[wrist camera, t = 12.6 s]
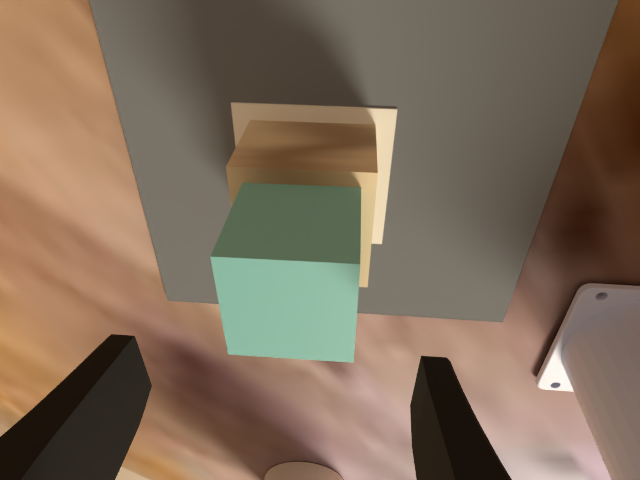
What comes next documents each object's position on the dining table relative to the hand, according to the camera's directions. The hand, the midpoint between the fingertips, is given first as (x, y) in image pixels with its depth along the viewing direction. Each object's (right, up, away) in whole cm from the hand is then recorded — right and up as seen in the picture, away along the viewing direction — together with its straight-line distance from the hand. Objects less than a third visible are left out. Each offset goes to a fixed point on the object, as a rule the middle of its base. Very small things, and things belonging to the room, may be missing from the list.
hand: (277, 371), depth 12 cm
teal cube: (0, +4, +5) cm, 6 cm away
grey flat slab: (+2, +7, +8) cm, 10 cm away
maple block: (+1, +6, +8) cm, 10 cm away
